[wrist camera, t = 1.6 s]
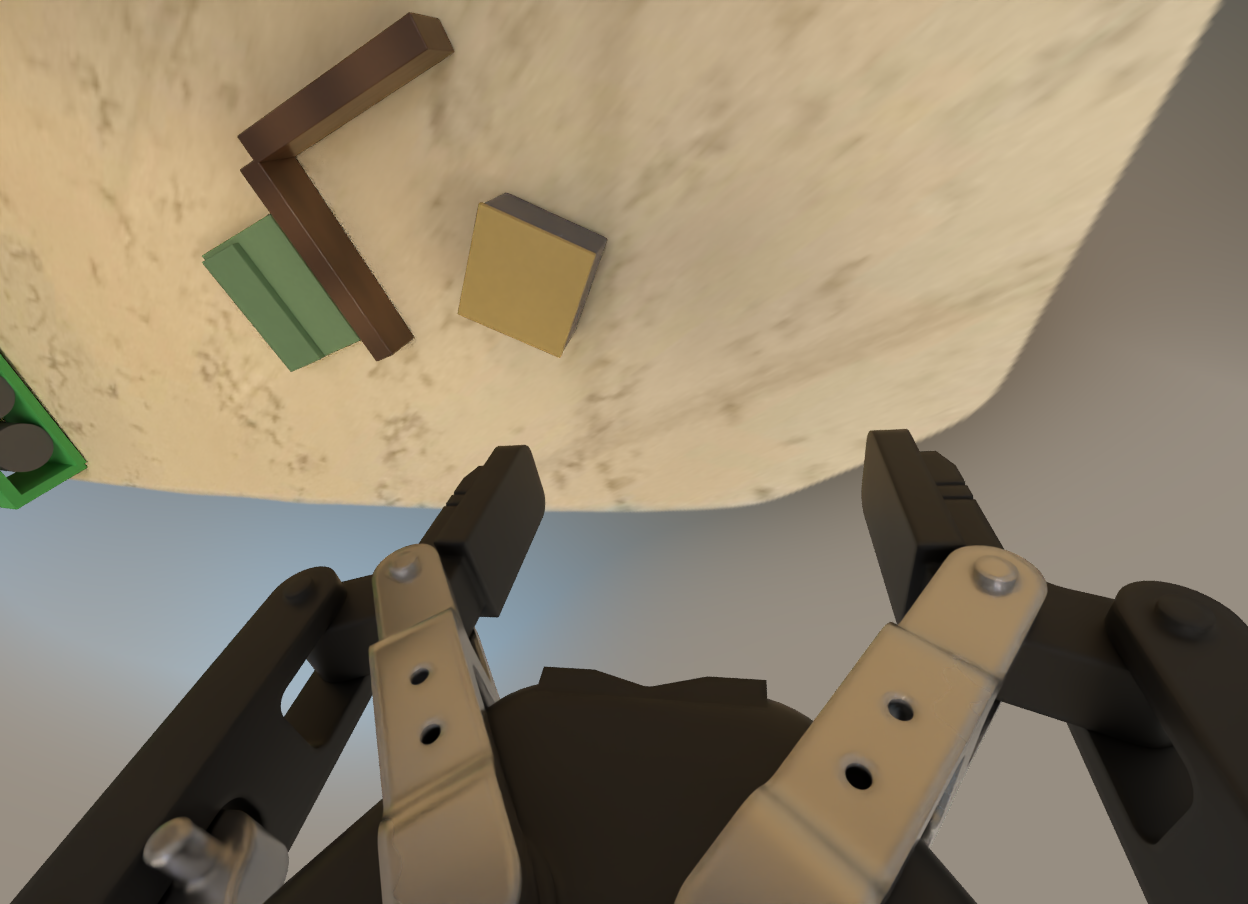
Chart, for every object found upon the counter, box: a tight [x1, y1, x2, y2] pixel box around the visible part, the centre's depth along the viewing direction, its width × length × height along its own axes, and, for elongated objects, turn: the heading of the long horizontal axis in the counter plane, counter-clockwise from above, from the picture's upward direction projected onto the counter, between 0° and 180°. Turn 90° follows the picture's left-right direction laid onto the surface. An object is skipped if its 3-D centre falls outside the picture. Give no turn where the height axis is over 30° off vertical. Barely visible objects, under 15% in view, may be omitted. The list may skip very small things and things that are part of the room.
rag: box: [202, 214, 361, 372], centre depth 37 cm, size 9×7×1 cm
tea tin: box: [458, 193, 607, 358], centre depth 31 cm, size 7×7×4 cm
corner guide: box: [237, 12, 454, 361], centre depth 31 cm, size 10×19×3 cm, turn 159°
